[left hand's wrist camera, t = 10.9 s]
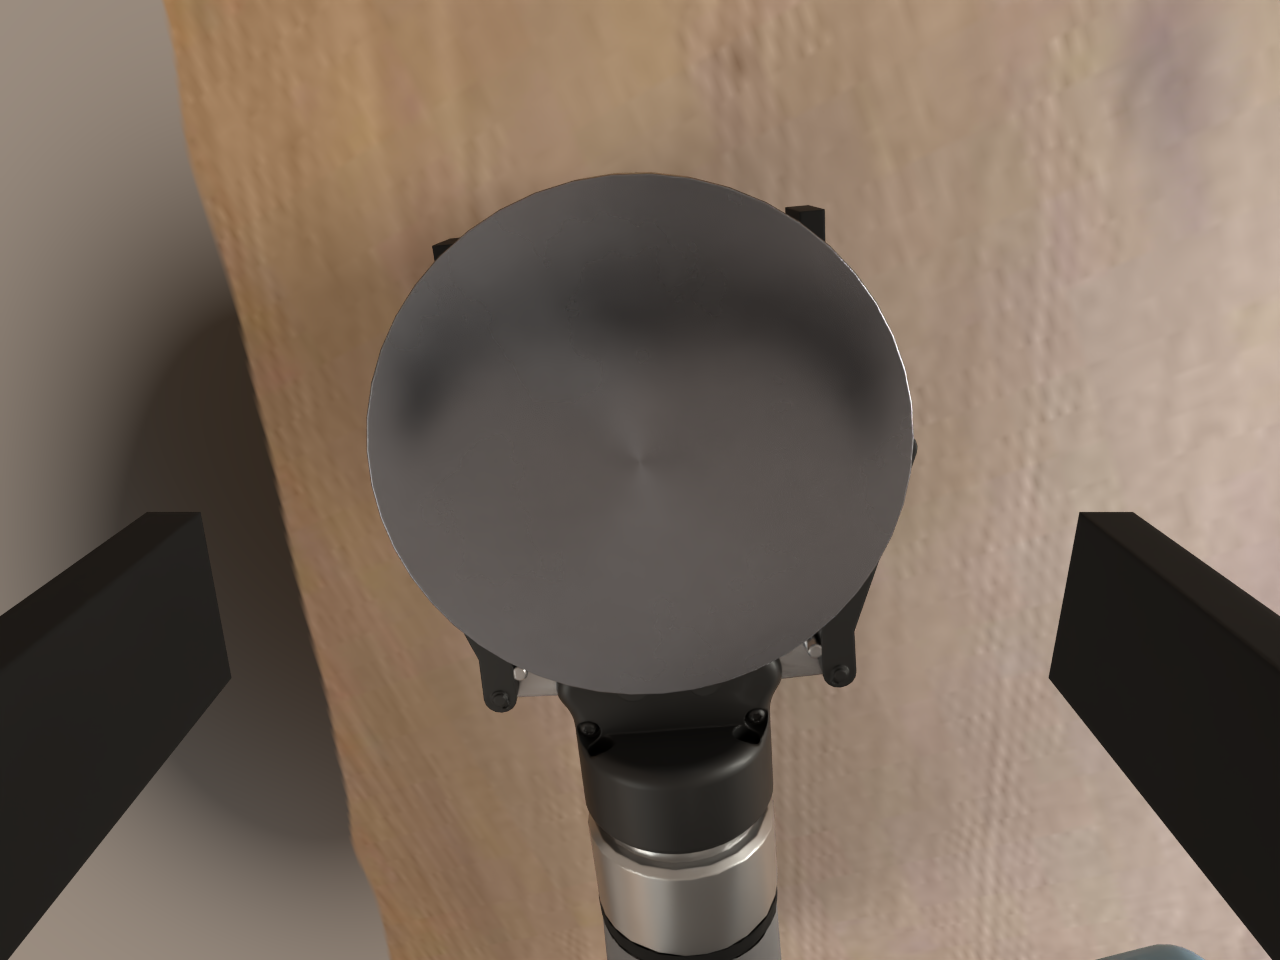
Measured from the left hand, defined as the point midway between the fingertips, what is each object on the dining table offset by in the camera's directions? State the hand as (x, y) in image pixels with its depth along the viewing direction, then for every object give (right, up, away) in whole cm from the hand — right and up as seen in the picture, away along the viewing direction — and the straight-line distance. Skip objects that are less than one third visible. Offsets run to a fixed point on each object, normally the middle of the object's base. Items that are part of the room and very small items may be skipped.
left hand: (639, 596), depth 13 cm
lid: (0, +2, +6) cm, 6 cm away
